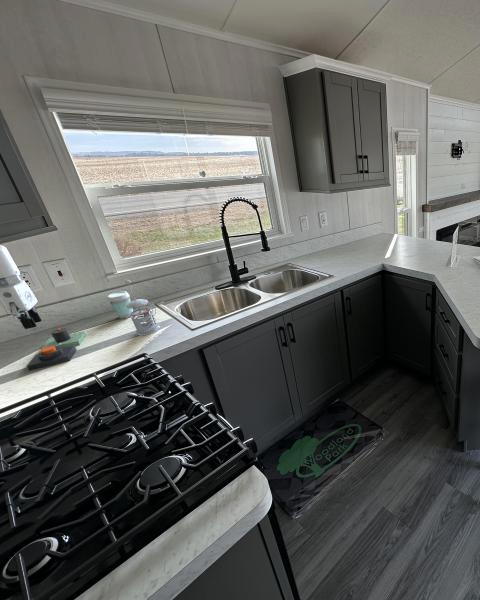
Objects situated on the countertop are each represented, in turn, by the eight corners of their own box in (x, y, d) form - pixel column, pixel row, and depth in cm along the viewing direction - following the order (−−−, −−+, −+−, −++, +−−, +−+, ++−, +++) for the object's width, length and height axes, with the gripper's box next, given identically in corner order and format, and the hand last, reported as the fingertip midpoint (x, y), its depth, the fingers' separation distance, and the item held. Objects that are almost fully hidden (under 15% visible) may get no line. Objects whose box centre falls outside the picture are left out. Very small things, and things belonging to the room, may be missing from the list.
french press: (129, 335, 147) (106, 283, 136) (151, 322, 157) (131, 274, 147) (147, 336, 145) (126, 284, 135) (168, 323, 156) (150, 274, 145)
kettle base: (29, 370, 125) (23, 362, 123) (38, 358, 132) (33, 350, 130) (70, 360, 130) (65, 352, 128) (76, 350, 137) (72, 341, 135)
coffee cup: (140, 313, 166) (131, 292, 161) (122, 321, 159) (112, 299, 154) (131, 310, 170) (122, 289, 165) (112, 318, 163) (102, 296, 158)
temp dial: (69, 340, 140) (63, 330, 138) (54, 343, 138) (48, 334, 136) (72, 335, 144) (67, 326, 142) (57, 338, 142) (52, 329, 140)
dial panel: (42, 353, 136) (40, 349, 135) (51, 342, 143) (49, 338, 143) (80, 345, 141) (77, 340, 140) (86, 334, 149) (84, 330, 148)
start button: (41, 356, 127) (38, 352, 126) (45, 351, 130) (42, 347, 129) (54, 353, 129) (52, 349, 128) (58, 348, 132) (56, 344, 131)
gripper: (11, 285, 111) (38, 332, 119) (31, 271, 124) (54, 313, 132) (-21, 290, 108) (9, 337, 116) (4, 275, 121) (29, 318, 129)
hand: (33, 324), depth 124 cm, fingers open, 4 cm apart
